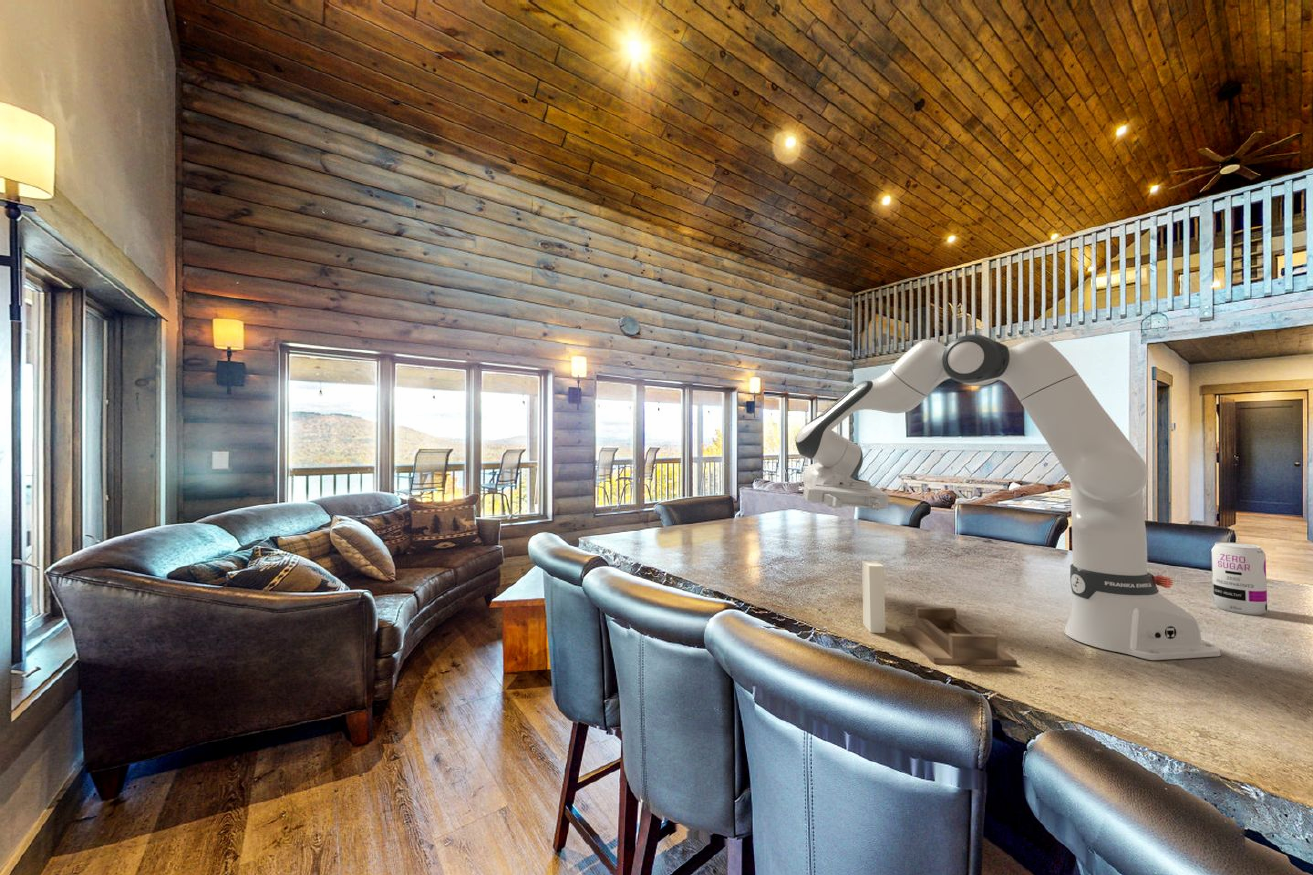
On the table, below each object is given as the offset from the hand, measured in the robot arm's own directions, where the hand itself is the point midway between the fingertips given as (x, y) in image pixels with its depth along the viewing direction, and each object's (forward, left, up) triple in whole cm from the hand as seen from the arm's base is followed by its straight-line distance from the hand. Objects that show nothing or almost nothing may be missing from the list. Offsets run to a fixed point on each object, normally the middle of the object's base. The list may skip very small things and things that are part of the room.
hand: (858, 505), depth 117 cm
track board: (-12, +18, -25) cm, 33 cm away
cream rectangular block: (0, +9, -26) cm, 27 cm away
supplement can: (-87, -8, -26) cm, 91 cm away
